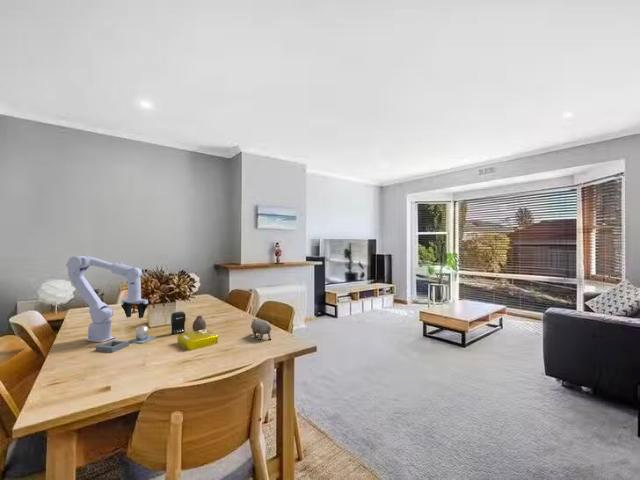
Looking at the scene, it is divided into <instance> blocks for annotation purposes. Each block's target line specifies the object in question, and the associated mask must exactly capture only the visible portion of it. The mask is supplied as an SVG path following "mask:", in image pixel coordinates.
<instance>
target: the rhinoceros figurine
mask: <svg viewBox="0 0 640 480" xmlns="http://www.w3.org/2000/svg"><path fill="white" fill-rule="evenodd" d="M250 328H251V329H252V333H253V337H256V338H257V335H259V337H258V338H257V340H258V339H261V340H262V339H263V338H264V335H267V336H268V339H269V340H270V339H271V340H272V338H271V330H272V326H271V324H270V322H269V321H268V320H265V319H260V317H259V318H252V321H251V324H250ZM268 339H267V340H268Z"/></svg>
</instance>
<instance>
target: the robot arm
mask: <svg viewBox="0 0 640 480" xmlns="http://www.w3.org/2000/svg"><path fill="white" fill-rule="evenodd" d="M65 265H66V266H65V267H67V272H68V273H67V274H68V279H69V281H70V282H71V283H72V285H73V286H74V288H75V289H76V290H77V292H78V293H79V295H80V296H81V297H82V299H83V300H84V302H85V303H86V304H87V306H88V307H89V310H88V313H89V315H90V318H91V323H90V324H89V326H88V327H87V328H88V331H87V335H88V336H87V339H86V342H94V343H95V342H96V343H103V342H104V343H105V342H106V341H107V342H108V341H109V340H112V339H113V340H114V339H115V338H116V336H112V317H113V316H114V310H113V308H112V307H110V306H109V305H108V304H107V303H105V302H103V301H102V300H101V299H100V297H99V295H98V294H97V292H96V291H95V289H94V288H93V287H92V286H91V284H90V283H89V281H88V280H87V278H86V277H85V273H86V271H87V270H88V269H89V268H90V267H93V266H94V267H98V268H102V269H106V270H110V272H111V273H112V274H115V275H119V276H120V277H121V276H122V277H126V279H127V298H123V299H121V300H120V301H121V304H120V307H121V308H122V309H123V312H124V313H125V317H126V318H127V319H128V318H131V317H132V308H133V304H136V308H137V312H138V313H137V314H138V319H142V318H144V315H145V313H146V310H147V307H148V306H149V300H148V299H145V298H142V285H141V284H142V282H141V280H142V279H141V278H142V277H141V276H143V269H141V268H140V267H138V266H134V267H133V265H128V264H124V263H123V262H122V261H119V262H115V263H112V262H109V261H106V260H103V259H100V258H97V257H94V256H89V255H85V254H84V255H77V256H76V255H73V256H71V257H69V258H68V261H67V262H66V264H65Z"/></svg>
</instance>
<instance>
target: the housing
mask: <svg viewBox="0 0 640 480" xmlns="http://www.w3.org/2000/svg"><path fill="white" fill-rule="evenodd" d="M129 346H130V342H129V340H127V341H125V340H115V339H113V340H112V339H111V341H107V342H104V343H102V344H98V345H96V346H95V351H96V352H104V353H114V352H117V351H119V350H122V349H124V348H127V347H129Z"/></svg>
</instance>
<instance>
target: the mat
mask: <svg viewBox="0 0 640 480" xmlns="http://www.w3.org/2000/svg"><path fill="white" fill-rule="evenodd" d="M157 338H158V337H157V336H151V335H150V336H149V335H148V339H146V340H143V341H137V340H136V337H134V338H132V339H130V340H128V341H129V344H130V343H131V344H141V345H142V344H145V343H148V342H150V341H152V340H156V339H157Z"/></svg>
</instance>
